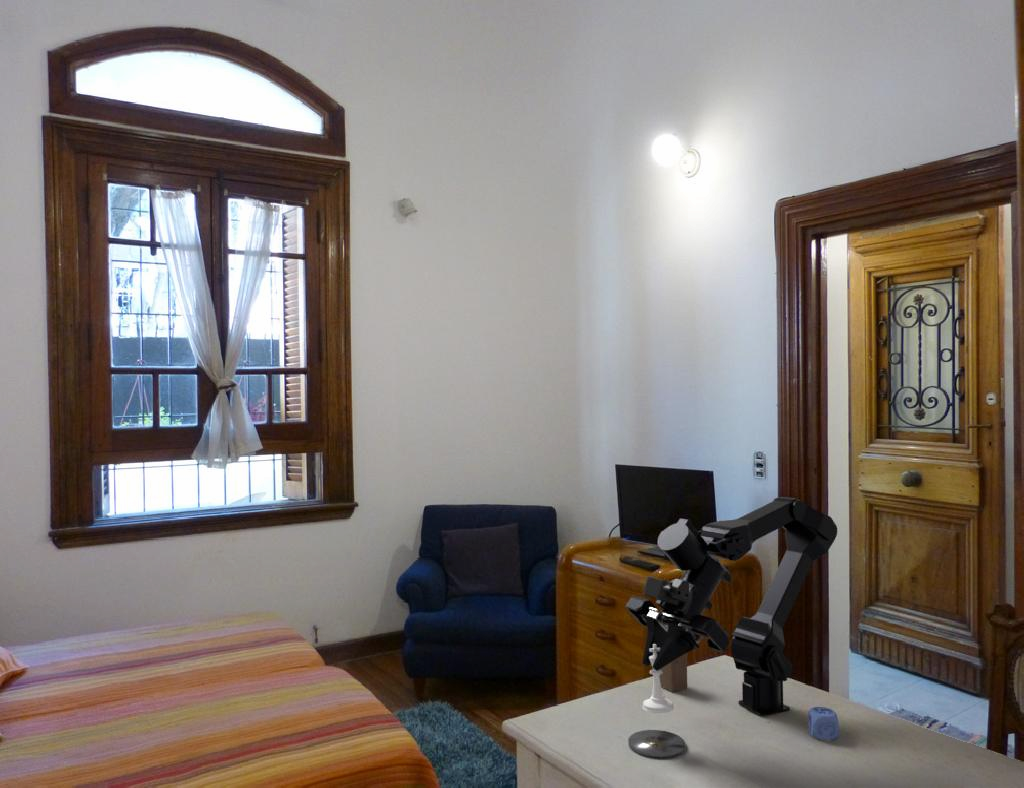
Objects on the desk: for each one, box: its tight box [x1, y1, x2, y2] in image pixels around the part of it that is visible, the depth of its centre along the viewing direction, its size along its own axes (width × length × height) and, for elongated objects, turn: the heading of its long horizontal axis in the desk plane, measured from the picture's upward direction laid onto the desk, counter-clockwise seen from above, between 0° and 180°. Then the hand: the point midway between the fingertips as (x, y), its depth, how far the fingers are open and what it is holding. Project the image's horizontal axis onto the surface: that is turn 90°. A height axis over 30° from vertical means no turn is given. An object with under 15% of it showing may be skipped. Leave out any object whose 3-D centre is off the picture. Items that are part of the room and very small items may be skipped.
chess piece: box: [642, 644, 675, 714], centre depth 122 cm, size 5×5×10 cm
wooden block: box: [659, 653, 688, 693], centre depth 147 cm, size 4×4×8 cm
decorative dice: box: [807, 706, 840, 741], centre depth 125 cm, size 4×4×4 cm
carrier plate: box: [627, 729, 686, 759], centre depth 122 cm, size 9×9×1 cm
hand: (649, 667), depth 122 cm, fingers closed on chess piece
